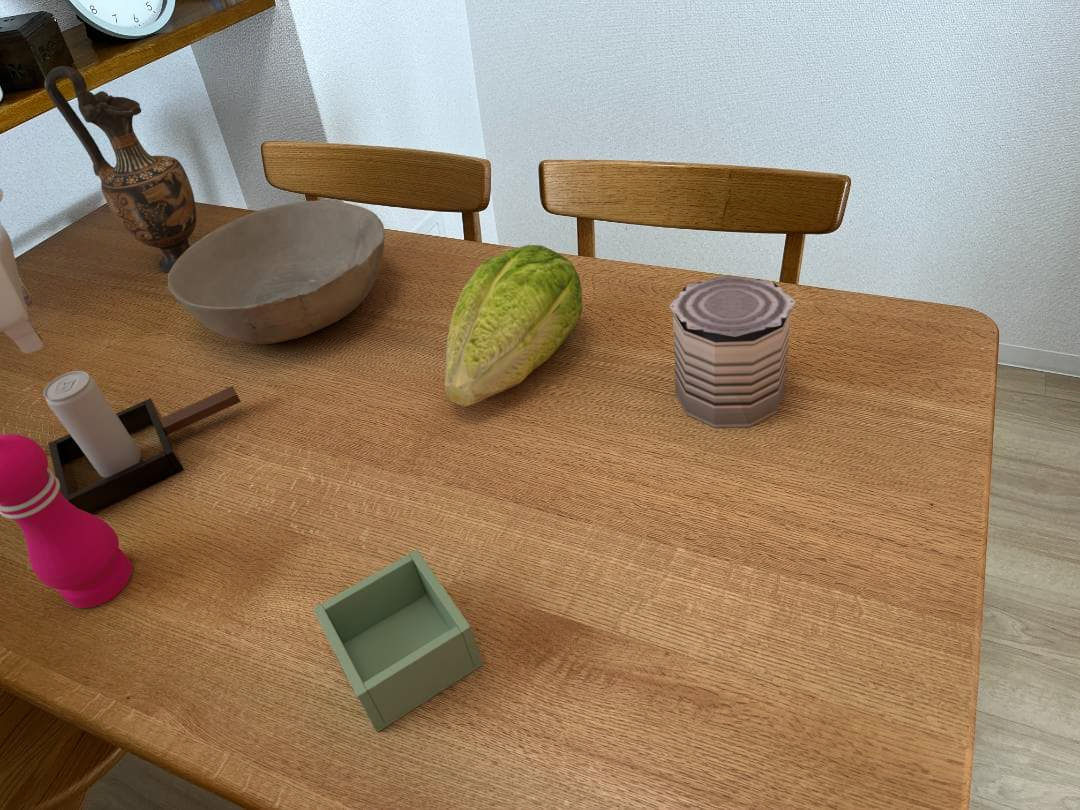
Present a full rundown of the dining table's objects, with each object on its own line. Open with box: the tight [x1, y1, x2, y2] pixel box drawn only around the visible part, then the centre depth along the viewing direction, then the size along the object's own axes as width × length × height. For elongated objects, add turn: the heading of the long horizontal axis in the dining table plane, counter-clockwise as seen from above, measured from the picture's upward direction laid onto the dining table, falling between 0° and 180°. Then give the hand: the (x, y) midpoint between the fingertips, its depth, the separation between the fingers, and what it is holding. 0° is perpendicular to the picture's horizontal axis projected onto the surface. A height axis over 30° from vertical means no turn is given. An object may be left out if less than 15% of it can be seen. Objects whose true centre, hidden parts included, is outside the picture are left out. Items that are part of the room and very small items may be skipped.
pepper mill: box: [0, 433, 133, 609], centre depth 71 cm, size 7×7×20 cm
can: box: [668, 274, 796, 429], centre depth 82 cm, size 11×11×12 cm
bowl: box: [167, 199, 386, 345], centre depth 107 cm, size 28×28×10 cm
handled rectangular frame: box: [48, 385, 241, 515], centre depth 91 cm, size 20×12×3 cm, turn 123°
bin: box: [312, 548, 484, 733], centre depth 65 cm, size 10×10×6 cm
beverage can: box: [42, 370, 142, 479], centre depth 87 cm, size 5×5×12 cm
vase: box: [43, 65, 197, 273], centre depth 116 cm, size 12×12×30 cm
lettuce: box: [444, 244, 583, 408], centre depth 91 cm, size 13×22×14 cm
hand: (29, 325), depth 78 cm, fingers open, 8 cm apart
